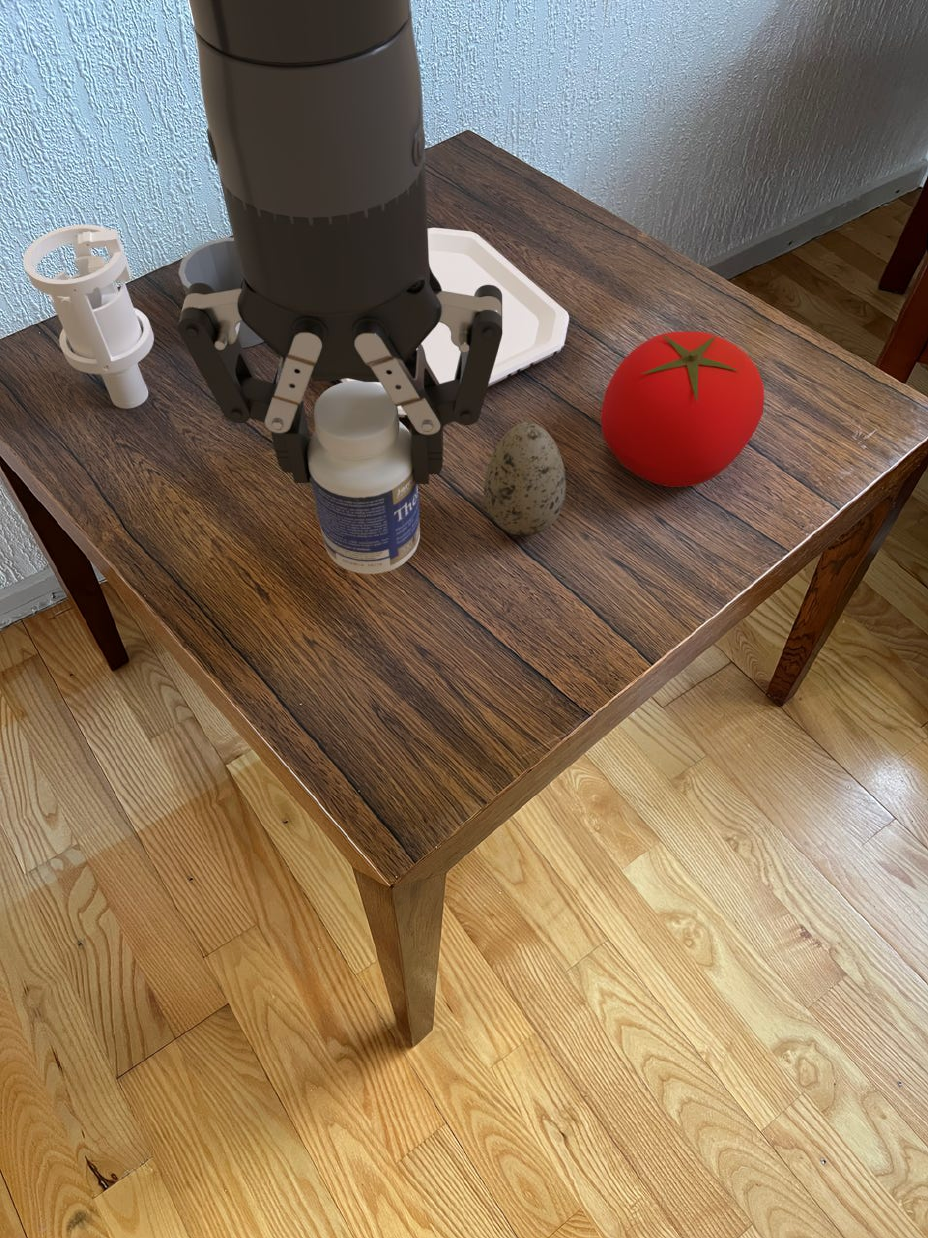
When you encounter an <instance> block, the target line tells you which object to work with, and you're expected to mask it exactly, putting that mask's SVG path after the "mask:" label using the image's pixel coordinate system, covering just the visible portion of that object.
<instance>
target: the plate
mask: <svg viewBox="0 0 928 1238" xmlns="http://www.w3.org/2000/svg"><path fill="white" fill-rule="evenodd" d="M428 251H429V265H430V268H431V271H432V273H433V274H434V276H435V277H436V279H437V280H438V282H439V283H440V286H441V288H442V291H447V292H453V293H458V294H464V295H470V296H474V295H475V292H476V290H477V289H478V288H479V287H481V286H483V285H493V286H496V287H497V288H499V289H500V291H501V293H502V338H501V341H500V345H499V349H498V352H497V356H496V359H495V363H494V366H493V370H492V373H491V377H490V381H489V384H488V388H489V387H491V386H493V385H495V384H497V383H499V382H501V381H503V380H505V379H507V378H510V377H511V376H513V375H516V374H518V373H520V372H522V371H524V370H526V369H528V368H530V367H532V366H534V365H537V364H538V363H540V362H543V361H545V360H546V359H549V358H551V357H552V356H555V355H556V354H559V353H560V352H561V351H562V350H563V349H564V347H565V343H566V338H567V334H568V328H569V323H570V316H569V315H570V314H569V313H568V311H567V310H566V309H564V308H563V307H562V306H561V305H560V304H559V303H558V302H556V301H555V300H554V299H553V298H552V297H550V295H548V294H547V293H546V292H545V291H544V290H543V289H541V287H539V286H538V285H537V284H535V282H533V281H532V280H531V279H530V278H529V277H527V275H525V274H524V273H523V272H522V271H521V270H520V269H518V268H517V267H516V266H515V265H514V264H513V263H511V262H510V261H509V260H508V259H507V258H506V257H505V256H503V255H502V254H501V253H500V252H499V251H498V250H496V249H495V248H494V247H493V246H492V245H491V244H490V243H489V242H487V241H486V240H485V239H484V238H483V237H482V236H480V235H479V234H478V233H476V232H473V231H470V230H460V229H451V228H440V227H430V228H428ZM421 344H422V346H423V348H424V351H425V356H426V360H427V362H428V364H429V366H430V368H431V370H432V371H433V373H434V375H435V376H436V378H437V380H438V382H439V383H440V384H441V383H445V382H448V381H452V380H454V378H455V374H456V369H457V365H458V361H459V357H460V353H461V352H460V351H459V347H457V346H456V345H454V344H453V342H452V340H451V331H450V329H449V328H448V327H447V326H446V325H445V324H443V323H440V322H439V323H438V324H437V326H436V327H435V328H434V329H433V330H432V332H431V333H430V334H429V335H428V336H427V337H426V338H425V340H424V341H423V342H422V343H421ZM348 381H358V380H353V379H348V378H346V379H341V380H339V383H343V382H348ZM372 383H376V384H378V385H380V386H382V384H381V383H380V382H372ZM382 387H383V386H382ZM398 415H399V418H404V419H409V418H408V416H407V415H406V413H405V412H404V410H403V408H402V407H401V406H398Z"/></svg>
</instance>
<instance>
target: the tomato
mask: <svg viewBox="0 0 928 1238" xmlns="http://www.w3.org/2000/svg"><path fill="white" fill-rule="evenodd" d="M764 404H765V388H764V384H763V380H762V377H761V374H760V371H759V370H758V368H757V367H756V365H755V363H754V361H753V360H752V359H751V358H750V357H749V355H748V354H747V353H746V352H744V351H743V350H742V349H741V348H739V347H738V346H737V345H735V344H734V343H732V342H731V341H728V340H727V339H724V338H723V337H720V336H718V335H715V334H712V333H710V332H705V331H697V330H681V331H680V330H677V331H670V332H669V331H668V332H663V333H661V334H658V335H655V336H653V337H650V338H649V339H647V340H645V341H643V343H641V344H639V345H638V346H637V347H635V348H634V349H633V350H632V351H631V352H630V353H629V354H628V355H627V356H626V357H625V358H623V360H622V361H621V362H620V363H619V365H618V367H617V368H616V369H615V371H614V373H613V375H612V377H610V380H609V383H608V384H607V387H606V389H605V393H604V397H603V402H602V406H601V413H600V427H601V431H602V432H601V433H602V436H603V440H604V442H605V443H606V445H607V447H608V449H609V450H610V451H611V453H612V455H613V456H614V457H615V459H616V460H617V461H619V463H621V465H623V467H625V468H626V469H627V470H629V471H630V472H632V473H633V474H634V475H636V476H638V477H640V478H642V479H643V480H646V481H648V482H650V483H653V484H655V485H656V484H657V485H659V486H663V487H670V488H671V487H672V488H673V487H674V488H684V487H692V486H696V485H699V484H702V483H703V484H704V483H705V482H707V481H709V480H711V479H714V478H716V477H717V476H718V475H719V474H720V473H722V472H723V471H724V470H726V469H727V468H728V467H729V466H730V465H731V464H732V463H733V461H734V460H735V459H736V458H737V457H739V455H740V454H741V452H742V451H743V450H744V449H745V447H746V445H747V444H748V443H749V441H750V440H751V439H752V437H753V436H754V434H755V431H756V430H757V427H758V425H759V423H760V421H761V418H762V416H763V414H764Z"/></svg>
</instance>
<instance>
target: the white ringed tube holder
mask: <svg viewBox="0 0 928 1238" xmlns="http://www.w3.org/2000/svg"><path fill="white" fill-rule="evenodd" d="M70 244H71V246H72V249H73V250H74V253H75V255H76V257H74V258H73V262H74V264H75V266H76V269H77V272H78V273H76V274H73V275H72V276H71V275H70V276H68V273H67V271H66V269H63V270H61V271H60V272H58V273H57V274H56V275H55V276H54V277H53V278H49V277H46V276H44V275H41V274H40V273H38V272H37V268H38V266H39V264H40V263H41V261H42V260H43V259H44V258H45V257H46V256H48V254H50V253H51V252H53V251H54V250H57V249H59V248H61V247H63V246H67V245H70ZM103 247H106V248H105V249H106V251H107V254H108V257H109V261H108V259H107V258H106V257H104V256H99V255H94V254H93V251H92V249H96V248H103ZM22 263H23V267H24V270H25V273H26V275H27V277H28V279H29V281H30V283H31V285H32V286H33V288H35V289H36V290H38V291H39V292H41V293H42V294H45V295H48V298H49V300H50V301H51V304H52V307H53V308H54V311H55V313H56V315H57V317H58V320H59V323H60V325H61V326H62V330H61V331H60V334H59V339H58V340H59V346H60V347H59V348H60V349H61V351H62V354H63V355H64V357H65V360H66V361H67V363H68V364H69V365H70V366H71V367H72V368H74V369H75V370H77V371H79V372H82V373H86V374H91V375H100V376H101V377H102V380H103V382H104V384H105V385H104V386H105V387H106V389H107V392H108V394H109V397H110V400H111V402H112V404H113V405H114V406H116V407H117V408H120V409H125V410H127V409H134V408H138V407H139V406H141V405H143V403H145V402H146V401H147V399H148V398H149V390H148V387H147V385H146V382H145V380H144V377H143V375H142V372H141V368H140V367H139V363H140V362H141V361H142V360H143V359H144V358H146V356H147V355H148V354H149V353H150V352H151V350H152V348H153V345H154V342H155V341H154V340H155V335H154V332H153V330H152V326H151V324H150V321H149V318H148V317H147V315H146V314H144V312H143V311H141V310H140V309H138V308H136V307H134V305H133V302H132V299H131V296H130V293H129V290H128V288H127V285H126V283H125V282H127V281H132V270H131V267H130V264H129V261H128V259H127V255H126V251H125V249H124V246H123V243H122V241H121V239H120V236H119V232H118V230H117V229H110V228H107V227H105V226H100V225H96V224H95V225H94V224H72V225H67V226H63V227H59V228H56V229H53V230H51V231H49V232H47V233H45V234H42V236H40V237H38V238H37V239H36V240H34V241H33V242H32V243H31V244H30V245H29V246H28V248H27V249H26V251H25V252H24V255H23V259H22ZM116 282H119V283H120V288H118V285H117V283H116ZM142 329H143V330H142ZM71 349H72V350H71Z"/></svg>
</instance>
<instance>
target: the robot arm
mask: <svg viewBox="0 0 928 1238" xmlns="http://www.w3.org/2000/svg"><path fill="white" fill-rule="evenodd" d="M187 3H188V8H189V13H190V17H191V21H192V24H193V32H194V37H195V38H194V39H195V44H196V53H197V59H198V60H197V61H198V74H199V84H200V93H201V99H202V105H203V111H204V116H205V121H206V123H207V128H206V137H207V141H208V146H209V151H210V156H211V158H212V161H214V163H215V165H216V168H217V171H218V176H219V182H220V185H221V189H222V195H223V198H224V203H225V207H226V212H227V215H228V220H229V224H230V229H231V233H232V238H234V242H235V247H236V251H237V256H238V260H239V265H240V269H241V273H242V276H243V281H242V284H241V289H236V290H230V291H223V292H217V293H215V291H214V290H213V288H212V287H210V286H209V285H207V284H205V283H194V284H192V285H191V286H190V287H189V289H188V292H187V296H186V297H184V301H183V305H182V309H181V311H180V317H179V321H178V324H177V332H178V334H179V336H180V337H181V339H182V342H183V343H184V345H185V348H186V349H187V351H188V352H189V354H190V356H191V357H192V360H193V361H194V363H195V365H196V367H197V368H198V370H199V372H200V374H201V375H202V378H203V379H204V382H205V383H206V385H207V386H208V389H209V390H210V392H211V395H212V396H213V398H214V400H215V401H216V404H217V405H218V407H219V409H220V411H221V412H222V414H223V416H224V417H225V419H227V420H228V421H229V422H231V423H234V424H244V423H246V422H248V421H249V419H252V420H256V421H259V422H260V423H263V424H264V426H265V427H266V428H267V430H269V431H270V434H271V438H272V442H273V447H274V452H275V456H276V458H277V460H276V461H277V464H278V467H279V468H280V469H281V470H282V472H283V473H284V474H286V473H287V474H292V478H293V482H294V483H295V484H310V481H311V477H310V472H309V467H308V460H307V451H308V445H309V442H310V439H311V434H310V429H309V423H308V418H307V412H306V408H305V403H304V400H303V398H304V396H305V393H306V390H307V387H308V385H309V382H310V379H311V381H312V382H315V383H317V382H319V383H323V382H326V383H330V382H335V381H340V380H341V379H346V378H348V379H353V380H358V381H362V382H380V383H381V384H382V386H383V388H384V389H385V391H386V392H387V394H388V395H389V397H390V398H391V400H392V402H393V403H394V405H395V406H397V407H398V406H401V407H402V408H403V410H404V412H405V413H406V415H407V416H408V418H407V419H409V421H410V423H411V433H410V434H411V436H412V450H413V464H414V479H415V484H418V485H429V484H430V475H440V474H441V471H442V469H443V463H444V428H445V426H446V425H448V424H450V423H453V422H455V423H457V424H458V425H461V426H472V425H474V424H476V423H477V422H478V421H479V419H480V416H481V412H482V409H483V405H484V402H485V399H486V395H487V391H488V388H489V387H488V384H489V381H490V377H491V373H492V370H493V366H494V363H495V359H496V356H497V352H498V349H499V345H500V341H501V338H502V293H501V291H500V289H499V288H497V287H496V286H493V285H483V286H481V287H479V288H478V289H477V290H476V292H475V295H474V296H470V295H464V294H458V293H453V292H447V291H442V288H441V286H440V283H439V282H438V280H437V279H436V277H435V276H434V274H433V273H432V271H431V268H430V265H429V251H428V207H427V205H428V204H427V203H428V202H427V180H426V177H427V176H426V151H425V150H426V133H425V127H424V126H425V125H424V101H423V84H422V82H423V81H422V75H421V67H420V59H419V54H418V50H417V45H416V39H415V31H414V25H413V24H414V23H413V13H412V0H187ZM240 321H243V322H244V323H245V324H246V325H247V326H248V327H249V328H250V329H251V330H252V331H253V332H255V333H256V334H257V335H258V336H259V337H260V338H261V339H262V340H263V341H264V343H266V345H267V346H269V347H270V348H271V349H272V350H273V351H274V352H276V353H277V354H278V355H279V356H280V357H279V359H278V360H279V361H278V364H277V365H276V366H277V367H276V369H275V372H274V376H273V379H272V381H268V380H263V379H260V378H258V376H257V375H256V373H255V370H254V368H253V366H252V364H251V362H250V360H249V358H248V356H247V353H246V352H245V350H244V348H242V346H241V344H240V342H239V340H238V338H237V334H238V330H239V326H240ZM439 322H440V323H443V324H445V325H446V326H447V327H448V328H449V329H450V331H451V340H452V342H453V344H454V345H456V346H457V347H459V351H460V352H461V353H460V357H459V361H458V365H457V369H456V374H455V378H454V380H452V381H448V382H445V383H441V384H440V383H439V382H438V380H437V378H436V376H435V375H434V373H433V371H432V370H431V368H430V366H429V364H428V362H427V360H426V356H425V351H424V348H423V346H422V344H421V343H422V342H423V341H424V340H425V338H426V337H427V336H428V335H429V334H430V333H431V332H432V330H433V329H434V328H435V327H436V326H437V324H438V323H439Z"/></svg>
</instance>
